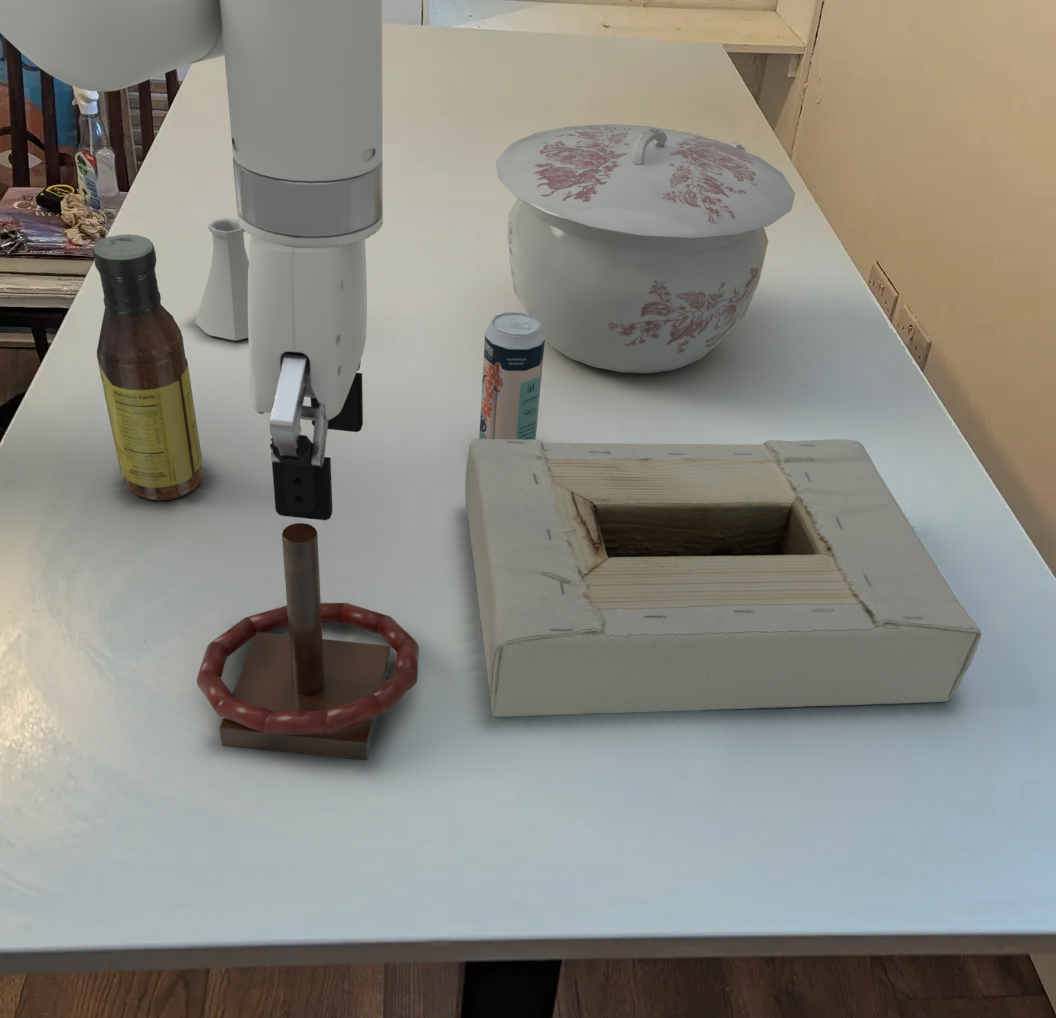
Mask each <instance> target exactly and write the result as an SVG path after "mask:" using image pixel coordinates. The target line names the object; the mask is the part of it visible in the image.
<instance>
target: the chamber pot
mask: <svg viewBox="0 0 1056 1018" xmlns="http://www.w3.org/2000/svg"><path fill="white" fill-rule="evenodd" d="M495 165H496V175H497V179H498V180H499V181H500V182H501V183H502V184H503V185H504V187H505V188H507V189H508V190H509V191H510V193H511V194H512V195H513V196H514V197H515V198H516V201H515V203H514V204H513V205H512V207H511V209H510V210H509V211H508V219H507V236H506V237H507V239H506V240H507V248H508V256H509V264H510V270H511V272H510V273H511V278H512V286H513V292H514V294H515V296H516V297H517V300H518V301H519V303H520V305H521V307H522V308H523V310H524V312H525V314H527V315H530V316H533V317H535V318H536V319H537V320H538V321H539V322H540V323H541V327H542V329H543V331H544V333H545V342H546V343H547V344H548V346H550V348H552V349H553V350H555V351H557V352H559V353H560V354H561V355H563V356H565V357H567V358H568V359H570V360H572V361H576V362H578V363H581V364H584V365H587V366H589V367H592V368H596V369H602V370H607V371H608V370H609V371H613V372H617V373H632V374H653V373H662V372H663V373H664V372H669V371H676V370H679V369H681V368H683V367H686V366H689V365H691V364H695V363H696V362H698V361H699V360H701V359H703V358H704V357H705V356H706V355H707V354H709V353H710V352H711V351H712V350H713V349H714V348H716V347H717V345H718V344H719V343H721V341H722V340H723V339H724V338H725V337H726V336H727V335H728V334H730V332H732V330H733V329H734V328H735V327H736V326H737V325H738V324H739V323H740V322H741V321H742V320H743V319H744V318H745V315H746V313H747V310H748V308H749V306H750V304H751V301H752V299H753V297H754V295H755V292H756V290H757V288H758V286H759V283H760V279H761V276H762V272H763V269H764V265H765V259H766V255H767V250H768V246H769V238H768V235H767V233H766V229H765V228H768V227H769V226H771V225H773V224H775V223H776V222H778V220H780V219H782V218H783V217H785V215H787V214H788V213H789V212H791V211H792V209H793V205H794V201H795V196H796V192H795V191H794V189H793V187H792V186H791V184H790V183H789V181H788V180H787V177H786V176H785V175H784V173H783V172H782V171H780V170H779V169H777V168H776V167H775V166H774V165H772V164H770V163H769V162H768V161H766V160H764V159H762V157H760V156H758V155H755V154H754V153H753V154H752V153H750V152H748V151H747V150H746V148H745V147H744V146H743V145H742V144H741V143H737V142H735V141H733V142H730V143H725V142H722V141H720V140H716V139H712V138H709V137H705V136H702V135H698V134H695V133H690V132H687V131H682V130H675V129H670V128H669V129H668V128H663V127H656V126H649V125H633V124H618V123H616V124H614V123H607V124H606V123H605V124H588V125H575V126H564V127H560V128H554V129H549V130H544V131H539V132H535V133H532V134H530V135H528V136H525V137H523V138H521V139H519V140H516V141H514V142H512V143H510V144H509V146H507V147H506V149H505V150H504V151H503V152H502V153H501V154H500V156H498V158H497V159H496V160H495Z"/></svg>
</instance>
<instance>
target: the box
mask: <svg viewBox="0 0 1056 1018" xmlns="http://www.w3.org/2000/svg"><path fill="white" fill-rule="evenodd" d="M466 459H467V460H466V465H465V467H466V468H465V479H464V480H465V483H464V488H465V489H464V497H465V498H464V502H465V509H466V513H467V519H468V525H469V526H468V527H469V536H470V545H471V553H472V559H473V569H474V576H475V584H476V592H477V602H478V609H479V617H480V618H479V619H480V625H481V633H482V641H483V648H484V649H483V650H484V657H485V665H486V666H485V667H486V674H487V682H488V683H487V684H488V691H489V708H490V713H491V715H492V716H493V717H495V718H497V717H502V718H503V717H504V718H506V717H530V716H531V717H533V716H558V715H584V714H585V715H586V714H588V715H589V714H620V713H621V714H622V713H648V712H649V713H650V712H674V711H676V712H677V711H679V712H682V711H683V712H685V711H710V710H713V711H714V710H738V709H739V710H747V709H765V708H766V709H768V708H769V709H770V708H771V709H775V708H799V707H801V708H802V707H821V706H822V707H824V706H825V707H830V706H831V707H833V706H860V705H863V706H864V705H886V704H891V705H892V704H921V703H943V702H948V701H949V700H950V699H952V697H953V696H954V694H955V692H956V691H957V689H958V688H959V686H960V685H961V682H962V680H963V679H964V677H965V675H966V673H967V671H968V670H969V667H970V666H971V664H972V662H973V659H974V657H975V655H976V652H977V650H978V646H979V644H980V641H981V638H982V631H981V628H980V627H979V625H978V624H977V622H976V621H974V619H973V618H972V617H971V616H970V615H969V613H968V612H967V610H966V609H965V608H964V606H963V605H962V604H961V603H960V601H959V600H958V597H956V595H955V593H954V592H953V591H952V589H951V587H950V585H949V583H948V582H947V581H946V579H945V578H944V576H943V574H942V573H941V571H940V570H939V568H938V566H937V565H936V563H935V562H934V560H933V558H932V557H931V555H930V553H929V552H928V550H927V548H926V547H925V545H924V544H923V542H922V540H921V538H920V537H919V536H918V534H917V532H916V531H915V529H914V528H913V526H912V525H911V523H910V521H909V520H908V518H907V516H906V514H905V513H904V512H903V510H902V508H901V507H900V505H899V503H898V502H897V500H896V498H895V497H894V495H893V494H892V492H891V490H890V488H889V487H888V485H887V484H886V482H885V480H884V479H883V478H882V476H881V474H880V473H879V471H878V469H877V468H876V465H875V464H874V461H873V460H872V458H871V456H870V455H869V453H868V452H867V450H866V448H865V446H864V444H862V443H861V442H860V441H858V440H854V439H841V438H839V439H835V438H833V439H814V440H811V439H810V440H795V441H794V440H793V441H791V440H781V439H768V440H765V442H763V443H760V444H756V443H755V444H753V443H751V444H747V443H745V444H743V443H742V444H740V443H738V444H737V443H719V444H717V443H622V442H621V443H609V442H607V443H603V442H602V443H597V442H596V443H594V442H592V443H587V442H586V443H583V442H562V443H561V442H542V441H541V440H539V439H536V440H533V439H531V440H528V439H527V440H522V439H473V440H472V441H471V442H470V444H469V446H468V450H467V457H466Z"/></svg>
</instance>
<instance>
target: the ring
mask: <svg viewBox="0 0 1056 1018" xmlns="http://www.w3.org/2000/svg"><path fill="white" fill-rule="evenodd" d="M321 617H322V624H345V625H348V626H351V627H353V628H357V629H360V630H363V631H367V632H369V633H373V634H377V635H379V637H381V638H382V639H383V640H384V641H385V642H386V643H387V645H388V646H390V648H392V650H394V651H395V653H396V662H395V672H394V674H392V675H391V676H390V677H389V678H388V679H386V682H385V683H384V684H383V685H382V686H381V687H380V688H378V689H377V690H376V691H375V692H374V693H373V694H372V695H370V696H367V697H364V698H361V699H358V700H355V701H352V702H350V703H347V704H344V705H341V706H338V707H335V708H332V709H329V710H326V711H271V710H268V709H266V708H263V707H260V706H257V705H254V704H252V703H249V702H246V701H243V700H240V699H237V698H235V697H234V695H233V692H232V691H231V690H230V688H229V686H228V685H226V683H225V682H224V680H223V679H222V676H223V673H224V669H225V665H226V662H227V660H228V657H230V656H231V655H232V654H234V653H235V652H236V651H237V650H239V649H240V648H241V647H243V646H244V645H246V644H247V643H248V642H249V641H251V640H252V639H254V637H255V634H256V632H261V633H271V632H274V631H278V630H281V629H284V628H287V627H288V613H287V605H283V606H279V607H276V608H273V609H269V610H267V611H264V612H260V613H256V614H252V615H250V616H245V617H243V619H241V620H240V621H238V622H237V623H236V624H234V625H232V626H231V627H230V628H229V629H227V630H226V631H225V632H223V633H222V634H220V635H218V637H216V638H215V639H214V640H212V641H211V642H209V644H208V645H207V647H206V650H205V652H204V655H203V658H202V661H201V665H200V668H199V670H198V674H197V677H196V684H197V686H198V688H199V690H200V691H201V692H202V694H203V695H204V697H205V698H206V700H207V702H209V704H210V705H211V707H212V708H213V710H214V711H215V712H216V714H217V715H218V717H220V718H222V719H223V718H224V719H227V720H230V721H232V722H235V723H238V724H241V725H243V726H246V727H249V728H252V729H254V730H257V731H260V732H262V733H265V734H268V735H299V734H331V733H334V732H337V731H339V730H342V729H345V728H348V727H351V726H354V725H357V724H359V723H362V722H365V721H368V720H371V719H374V718H377V719H378V718H379V717H382V716H384V715H386V714H387V713H388V712H389V711H390V709H392V708H393V707H394V705H396V704H397V703H398V702H399V701H400V700H401V699H402V698H403V697H404V696H405V695H406V694H407V693H408V692H409V691H410V690H411V689H412V688H414V686H415V685H416V684H417V682H418V673H419V653H420V652H419V651H420V648H419V643H418V642H417V641H416V640H415V639H414V638H413V637H412V636H411V635H410V634H409V633H408V632H407V631H406V630H405V629H404V628H403V627H402V626H401V625H400V624H399V622H397V621H396V620H395V619H394V618H393V617H391V616H390V615H388V614H384V613H380V612H378V611H374V610H371V609H368V608H364V607H361V606H358V605H355V604H351V603H348V602H321ZM288 628H289V627H288Z"/></svg>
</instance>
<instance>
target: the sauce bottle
mask: <svg viewBox="0 0 1056 1018" xmlns="http://www.w3.org/2000/svg"><path fill="white" fill-rule="evenodd" d="M92 253H93V260H94V261H93V262H94V267H95V268H96V270H97V271H98V273H99V276H100V283H101V287H102V292H103V304H104V311H103V316H102V317H103V318H102V322H101V327H100V332H99V338H98V342H97V347H96V348H97V349H96V358H97V363H98V368H99V373H100V378H101V383H102V390H103V393H104V399H105V403H106V409H107V413H108V417H109V423H110V427H111V432H112V438H113V442H114V443H113V444H114V447H115V453H116V457H117V462H118V467H119V471H120V473H121V475H122V479H123V482H124V483H125V484H126V487H127V488H128V490H130V491H131V493H132V494H134V495H135V496H137V497H141V498H144V499H146V500H150V501H173V500H175V499H179V498H180V497H183V496H185V495H187V494H189V493H191V492H193V491H194V490H196V489H197V488H198V487H199V485H200V483H201V482H202V477H203V476H202V474H203V471H202V470H203V468H202V462H203V454H202V449H201V443H200V436H199V430H198V423H197V417H196V408H195V402H194V396H193V389H192V382H191V376H190V369H189V362H188V359H187V357H186V351H185V344H184V338H183V334H182V331H181V328H180V327H179V326H178V323H177V322H176V320H175V318H174V316H173V315H172V314H171V313H170V312H169V311H168V310H167V309H166V308H165V307H164V306H163V305H162V303H161V301H162V296H161V292H160V291H159V286H158V279H157V274H156V265H157V253H156V250H155V245H154V243H153V242H152V241H151V240H150V238H147V237H145V236H141V235H138V234H130V233H127V234H116V235H112V236H107V237H104V238H101V239H99V240H98V241H96V243H95V244H94V246H93V248H92Z"/></svg>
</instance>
